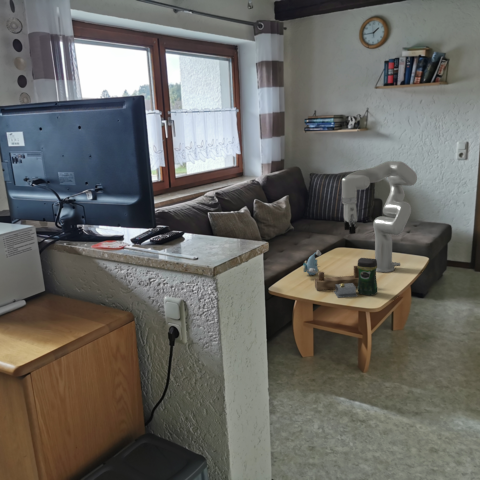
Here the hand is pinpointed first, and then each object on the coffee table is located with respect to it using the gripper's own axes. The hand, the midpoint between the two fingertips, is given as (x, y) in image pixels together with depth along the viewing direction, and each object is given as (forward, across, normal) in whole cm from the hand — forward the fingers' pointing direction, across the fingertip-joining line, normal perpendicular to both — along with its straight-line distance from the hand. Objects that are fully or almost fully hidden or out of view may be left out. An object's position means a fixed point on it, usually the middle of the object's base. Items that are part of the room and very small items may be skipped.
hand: (349, 231), depth 264 cm
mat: (+28, -20, +8) cm, 35 cm away
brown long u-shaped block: (+28, -9, +8) cm, 31 cm away
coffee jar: (+28, -21, -3) cm, 35 cm away
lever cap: (+27, -20, +8) cm, 35 cm away
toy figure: (+28, +16, +18) cm, 37 cm away
